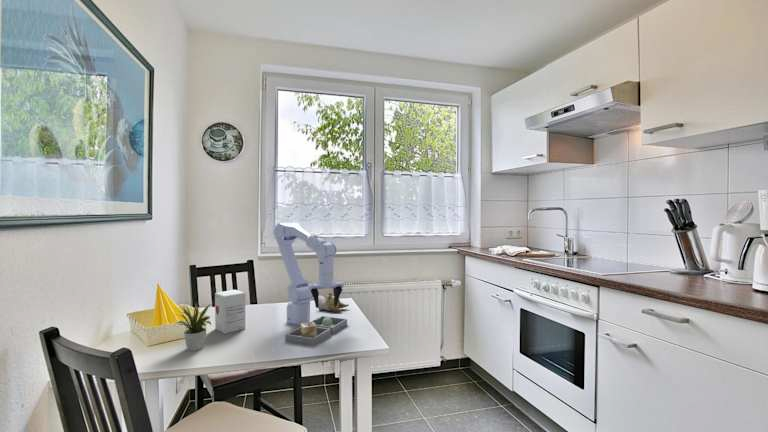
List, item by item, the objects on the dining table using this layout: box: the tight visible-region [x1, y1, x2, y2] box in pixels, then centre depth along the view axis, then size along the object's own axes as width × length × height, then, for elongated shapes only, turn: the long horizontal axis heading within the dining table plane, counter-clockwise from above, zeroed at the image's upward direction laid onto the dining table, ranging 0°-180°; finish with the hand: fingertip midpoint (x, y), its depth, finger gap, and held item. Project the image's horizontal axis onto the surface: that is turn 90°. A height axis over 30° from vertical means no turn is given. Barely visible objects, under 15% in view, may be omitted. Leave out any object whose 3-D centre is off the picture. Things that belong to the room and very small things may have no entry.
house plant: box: [175, 300, 212, 352], centre depth 129 cm, size 14×14×16 cm
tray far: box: [309, 315, 348, 335], centre depth 151 cm, size 12×12×3 cm
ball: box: [322, 316, 332, 327], centre depth 151 cm, size 4×4×4 cm
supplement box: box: [214, 289, 246, 335], centre depth 151 cm, size 9×9×15 cm
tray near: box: [284, 326, 332, 347], centre depth 139 cm, size 12×12×3 cm
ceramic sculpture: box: [317, 292, 350, 313], centre depth 178 cm, size 11×9×15 cm
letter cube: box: [300, 322, 317, 338], centre depth 139 cm, size 5×5×5 cm
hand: (326, 306), depth 151 cm, fingers open, 7 cm apart
